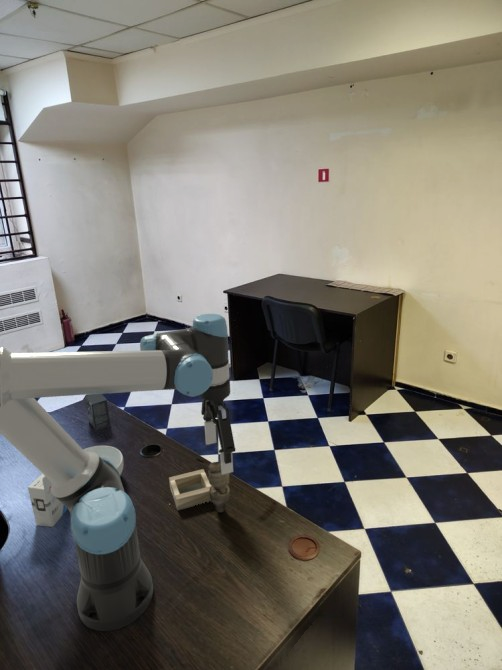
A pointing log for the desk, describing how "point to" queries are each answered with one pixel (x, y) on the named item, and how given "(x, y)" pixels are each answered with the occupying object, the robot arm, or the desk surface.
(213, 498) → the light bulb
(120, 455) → the cereal bowl
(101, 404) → the box
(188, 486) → the wooden square frame
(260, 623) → the desk surface
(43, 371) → the robot arm
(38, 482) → the ink box
